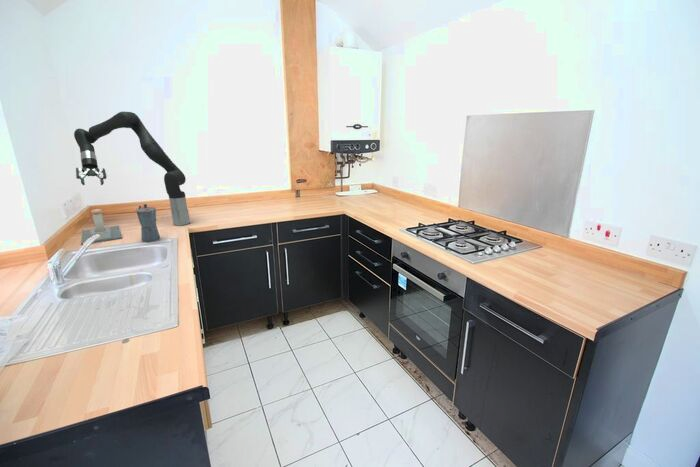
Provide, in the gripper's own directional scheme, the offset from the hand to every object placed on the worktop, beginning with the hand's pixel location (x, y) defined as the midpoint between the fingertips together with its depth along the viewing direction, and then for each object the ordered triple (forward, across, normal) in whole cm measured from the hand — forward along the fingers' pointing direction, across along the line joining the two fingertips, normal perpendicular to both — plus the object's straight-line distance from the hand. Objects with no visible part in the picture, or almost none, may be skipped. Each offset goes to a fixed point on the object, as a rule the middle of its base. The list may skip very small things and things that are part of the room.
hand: (93, 184), depth 199 cm
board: (+32, 0, 0) cm, 32 cm away
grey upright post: (+30, 0, 0) cm, 30 cm away
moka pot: (+45, +19, -24) cm, 55 cm away
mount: (+35, -1, -7) cm, 36 cm away
